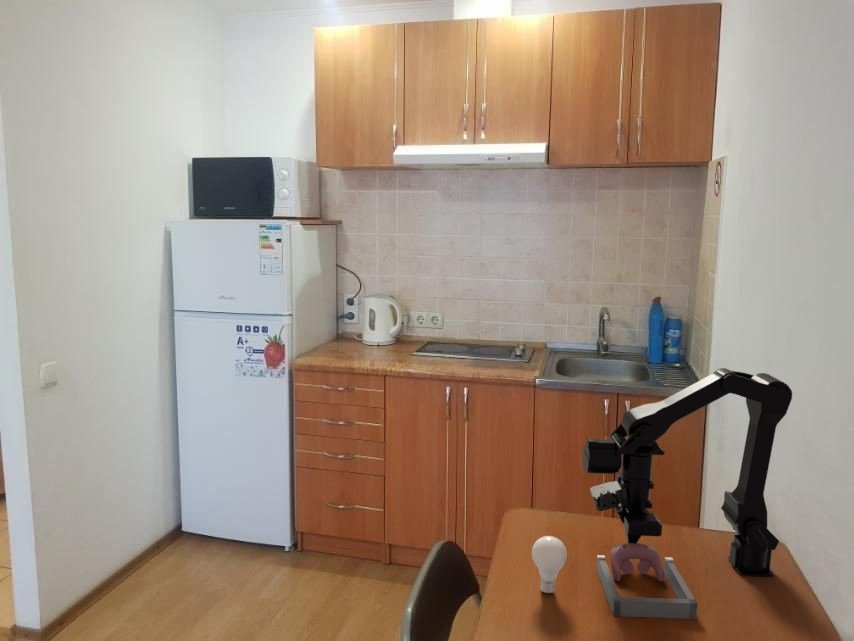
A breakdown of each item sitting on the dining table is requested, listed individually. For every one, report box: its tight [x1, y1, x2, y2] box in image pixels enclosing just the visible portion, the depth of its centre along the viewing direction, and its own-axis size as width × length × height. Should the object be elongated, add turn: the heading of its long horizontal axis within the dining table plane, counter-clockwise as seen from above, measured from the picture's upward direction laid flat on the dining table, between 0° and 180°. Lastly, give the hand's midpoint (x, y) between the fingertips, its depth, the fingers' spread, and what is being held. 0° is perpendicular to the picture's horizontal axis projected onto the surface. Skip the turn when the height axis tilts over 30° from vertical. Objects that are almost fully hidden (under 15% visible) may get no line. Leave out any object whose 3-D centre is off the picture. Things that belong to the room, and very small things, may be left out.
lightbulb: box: [531, 535, 568, 594], centre depth 124 cm, size 6×6×11 cm
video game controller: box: [609, 542, 665, 582], centre depth 131 cm, size 10×5×7 cm, turn 89°
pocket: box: [596, 554, 698, 620], centre depth 125 cm, size 15×15×3 cm
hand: (630, 546), depth 134 cm, fingers closed
